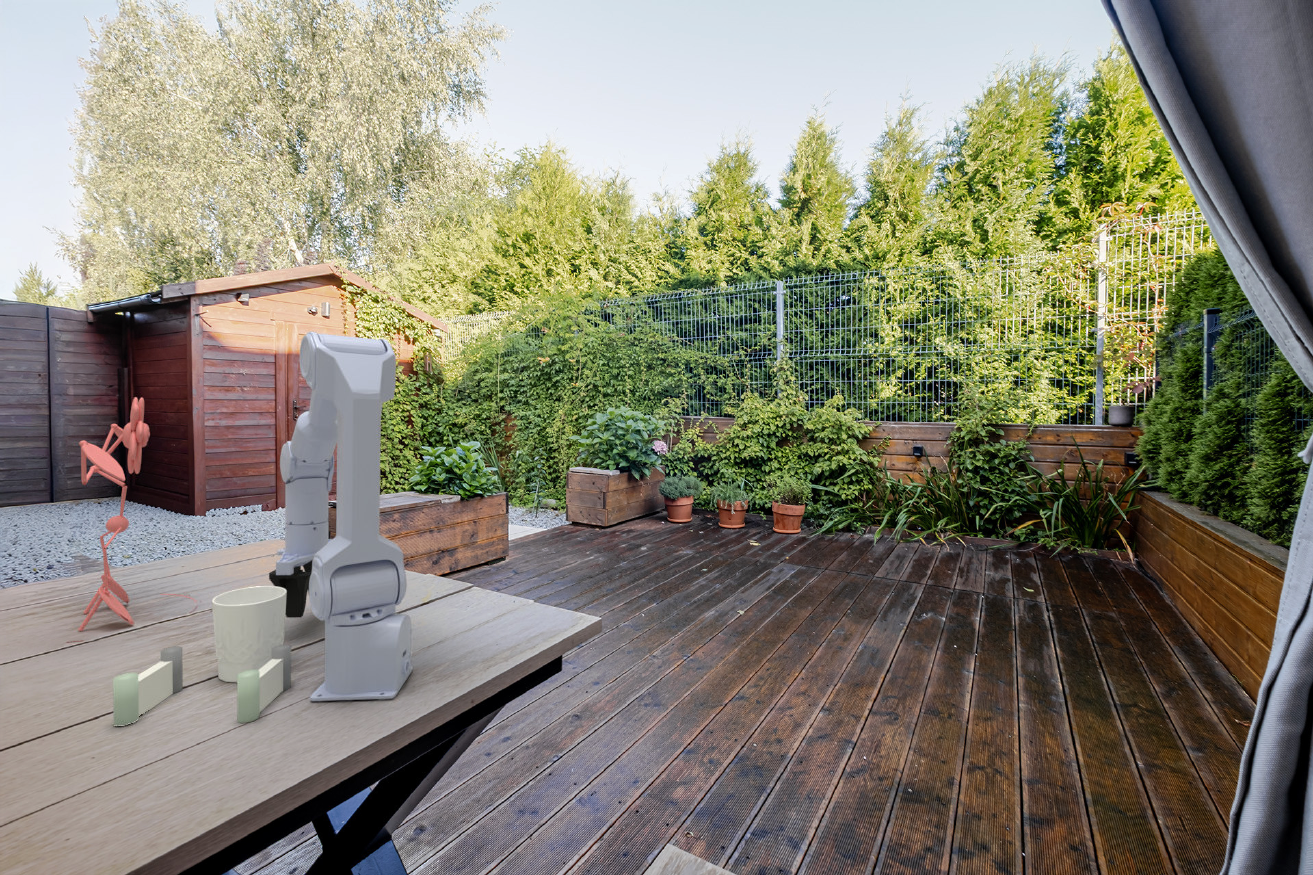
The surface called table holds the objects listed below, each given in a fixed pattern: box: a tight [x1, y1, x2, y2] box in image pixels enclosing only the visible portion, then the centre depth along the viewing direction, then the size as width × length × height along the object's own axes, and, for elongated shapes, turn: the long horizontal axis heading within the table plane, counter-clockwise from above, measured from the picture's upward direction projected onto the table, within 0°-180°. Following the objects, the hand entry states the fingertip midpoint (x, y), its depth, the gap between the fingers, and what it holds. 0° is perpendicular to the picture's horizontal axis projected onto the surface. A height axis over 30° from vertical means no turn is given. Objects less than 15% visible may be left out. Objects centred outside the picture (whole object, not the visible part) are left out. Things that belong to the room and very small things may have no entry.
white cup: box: [211, 585, 287, 683], centre depth 75 cm, size 8×8×10 cm
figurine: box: [66, 396, 202, 644], centre depth 93 cm, size 15×26×35 cm, turn 41°
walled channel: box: [112, 643, 292, 726], centre depth 67 cm, size 14×9×5 cm, turn 97°
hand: (306, 608), depth 90 cm, fingers open, 7 cm apart
